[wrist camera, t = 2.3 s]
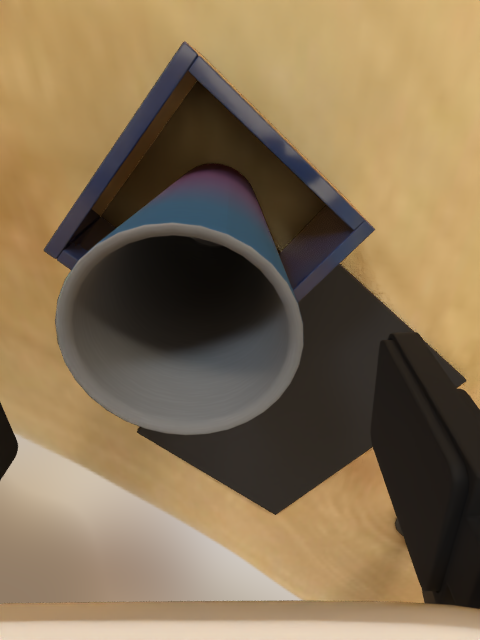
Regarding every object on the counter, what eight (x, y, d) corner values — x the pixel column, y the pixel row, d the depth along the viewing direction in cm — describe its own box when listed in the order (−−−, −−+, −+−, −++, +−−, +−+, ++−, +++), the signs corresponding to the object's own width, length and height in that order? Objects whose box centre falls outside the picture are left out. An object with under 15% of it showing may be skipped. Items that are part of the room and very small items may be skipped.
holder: (84, 216, 25) (42, 250, 20) (199, 52, 21) (183, 39, 16) (225, 322, 28) (221, 375, 23) (347, 199, 24) (375, 229, 19)
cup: (244, 278, 27) (244, 460, 14) (142, 237, 26) (34, 394, 12) (292, 176, 24) (350, 285, 11) (178, 124, 22) (86, 175, 9)
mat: (137, 428, 33) (136, 432, 33) (321, 247, 26) (322, 249, 25) (275, 511, 38) (275, 515, 38) (464, 377, 30) (466, 381, 30)
